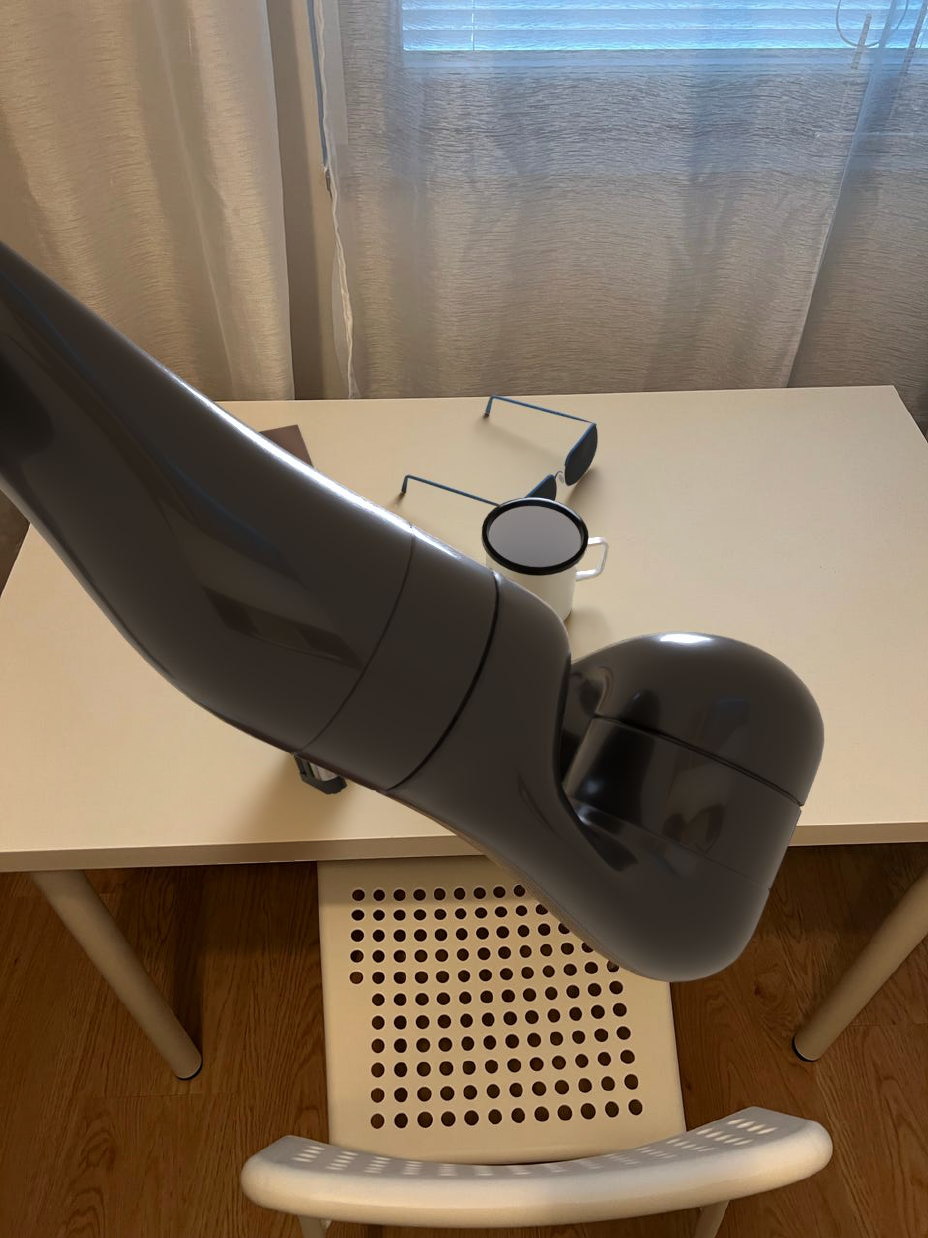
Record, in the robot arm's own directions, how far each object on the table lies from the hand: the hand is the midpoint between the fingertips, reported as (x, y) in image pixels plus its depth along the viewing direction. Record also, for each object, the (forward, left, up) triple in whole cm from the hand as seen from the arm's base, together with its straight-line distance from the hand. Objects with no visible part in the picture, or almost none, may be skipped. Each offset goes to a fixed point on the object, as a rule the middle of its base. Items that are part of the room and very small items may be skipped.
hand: (383, 704), depth 60 cm
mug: (+20, +19, -17) cm, 33 cm away
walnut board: (-6, +43, -17) cm, 47 cm away
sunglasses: (+23, +37, -17) cm, 47 cm away
